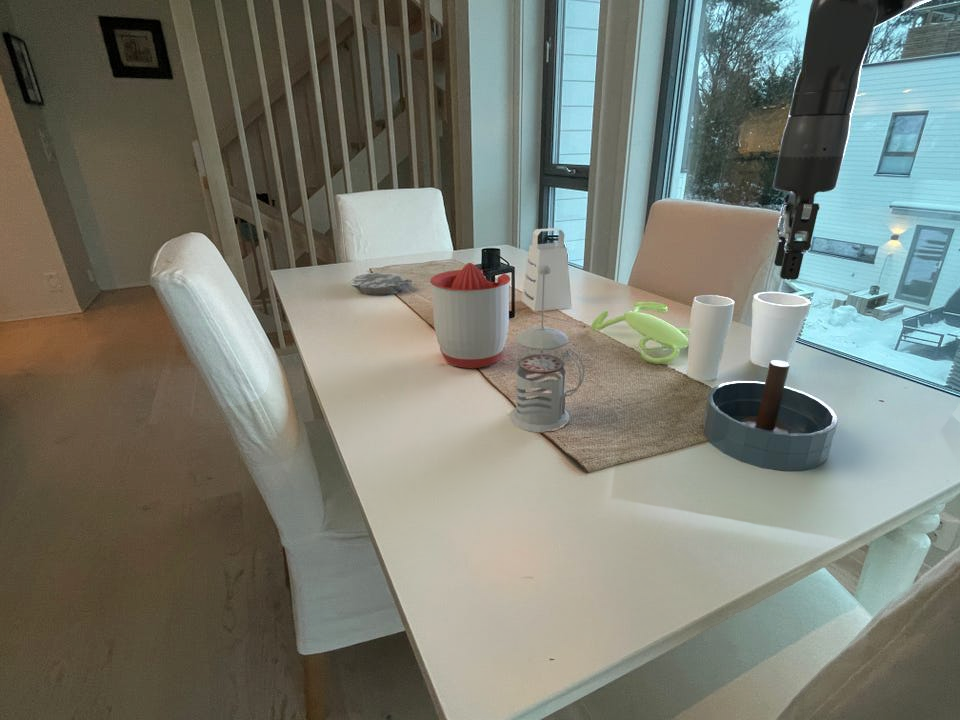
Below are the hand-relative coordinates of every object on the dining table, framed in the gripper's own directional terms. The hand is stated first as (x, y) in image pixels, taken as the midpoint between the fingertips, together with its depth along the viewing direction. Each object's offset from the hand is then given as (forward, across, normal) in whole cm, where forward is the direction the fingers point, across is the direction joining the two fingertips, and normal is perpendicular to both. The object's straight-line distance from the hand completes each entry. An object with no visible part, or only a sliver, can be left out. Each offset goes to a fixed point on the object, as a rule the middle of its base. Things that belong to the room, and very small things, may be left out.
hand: (785, 271), depth 75 cm
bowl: (+23, -10, 0) cm, 25 cm away
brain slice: (+23, +42, +101) cm, 112 cm away
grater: (+23, +44, +49) cm, 70 cm away
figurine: (+23, +27, +20) cm, 41 cm away
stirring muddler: (+22, -10, 0) cm, 25 cm away
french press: (+23, -15, +31) cm, 42 cm away
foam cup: (+23, +22, -4) cm, 32 cm away
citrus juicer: (+23, +4, +52) cm, 57 cm away
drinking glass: (+23, +10, +8) cm, 27 cm away
